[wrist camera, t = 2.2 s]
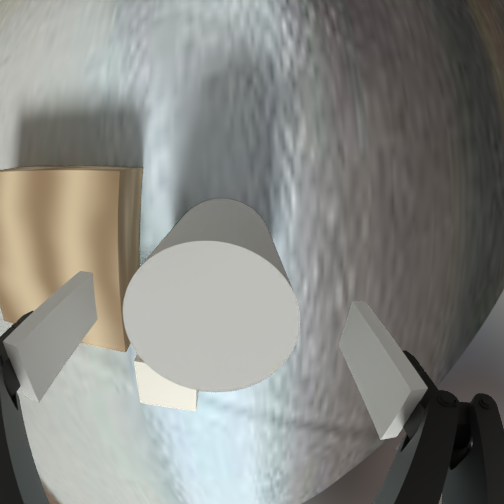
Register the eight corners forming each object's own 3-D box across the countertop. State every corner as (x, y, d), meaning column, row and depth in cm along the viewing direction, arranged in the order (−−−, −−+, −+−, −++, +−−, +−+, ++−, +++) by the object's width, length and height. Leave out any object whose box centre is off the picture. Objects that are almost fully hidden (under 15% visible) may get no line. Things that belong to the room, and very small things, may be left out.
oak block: (29, 298, 25) (4, 320, 20) (18, 167, 21) (-16, 172, 16) (141, 321, 26) (125, 352, 21) (143, 167, 22) (119, 171, 17)
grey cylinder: (184, 298, 25) (152, 395, 14) (164, 207, 23) (101, 255, 11) (276, 285, 25) (303, 381, 14) (265, 191, 23) (292, 227, 12)
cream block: (154, 362, 28) (140, 402, 22) (151, 322, 26) (134, 361, 20) (201, 368, 28) (196, 411, 22) (203, 328, 27) (196, 370, 21)
